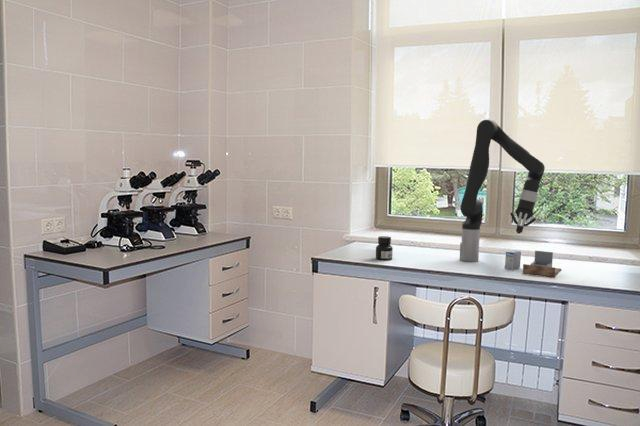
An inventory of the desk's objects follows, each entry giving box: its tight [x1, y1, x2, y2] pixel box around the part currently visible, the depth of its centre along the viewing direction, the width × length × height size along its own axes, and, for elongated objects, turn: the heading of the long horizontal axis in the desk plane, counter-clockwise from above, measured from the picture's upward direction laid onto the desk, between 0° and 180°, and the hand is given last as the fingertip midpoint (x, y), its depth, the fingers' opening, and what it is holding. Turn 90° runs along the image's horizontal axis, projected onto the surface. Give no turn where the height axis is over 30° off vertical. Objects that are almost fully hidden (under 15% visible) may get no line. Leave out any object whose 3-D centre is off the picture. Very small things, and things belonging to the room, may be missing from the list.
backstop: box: [522, 263, 562, 279], centre depth 258 cm, size 14×23×4 cm, turn 148°
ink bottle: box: [375, 235, 394, 261], centre depth 283 cm, size 10×9×12 cm
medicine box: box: [504, 249, 522, 271], centre depth 265 cm, size 8×4×9 cm, turn 135°
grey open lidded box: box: [529, 250, 554, 267], centre depth 254 cm, size 8×12×9 cm, turn 148°
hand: (518, 233), depth 266 cm, fingers closed
